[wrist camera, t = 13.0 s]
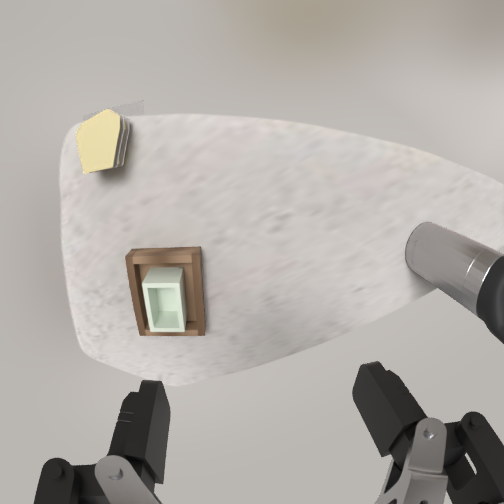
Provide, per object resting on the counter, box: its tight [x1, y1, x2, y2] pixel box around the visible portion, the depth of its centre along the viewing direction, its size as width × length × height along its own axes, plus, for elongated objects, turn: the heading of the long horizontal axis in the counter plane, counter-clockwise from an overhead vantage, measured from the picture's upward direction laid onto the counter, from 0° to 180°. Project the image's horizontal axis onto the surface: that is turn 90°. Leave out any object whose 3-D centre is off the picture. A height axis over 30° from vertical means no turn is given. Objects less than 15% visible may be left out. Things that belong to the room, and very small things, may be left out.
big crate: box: [125, 247, 205, 336], centre depth 36 cm, size 10×12×3 cm
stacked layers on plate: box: [76, 100, 144, 174], centre depth 28 cm, size 10×9×6 cm
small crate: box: [142, 267, 187, 332], centre depth 35 cm, size 5×7×5 cm, turn 179°
